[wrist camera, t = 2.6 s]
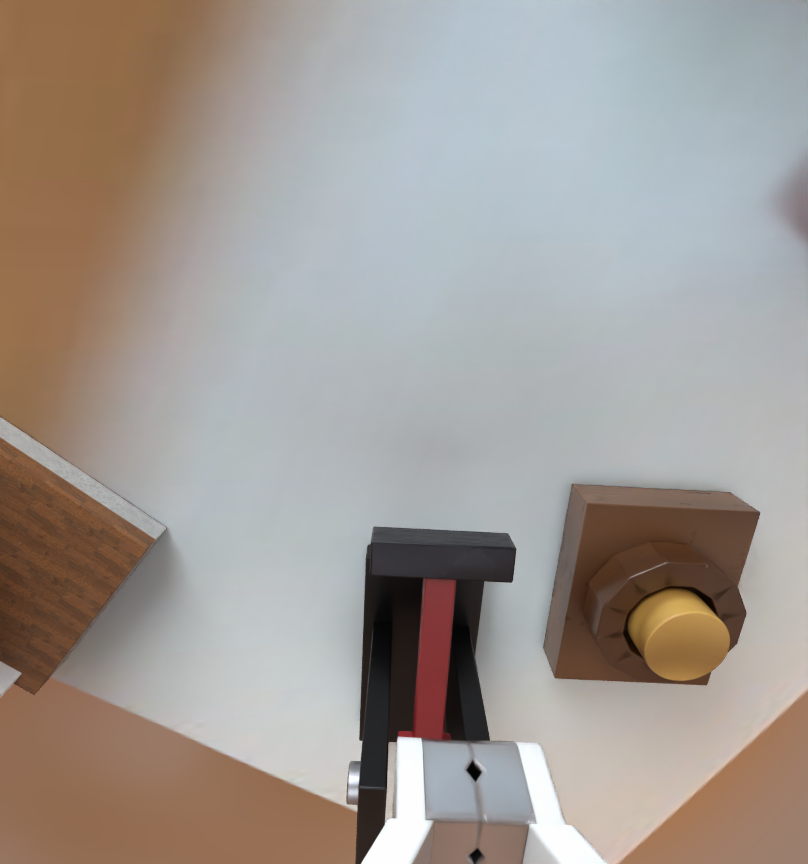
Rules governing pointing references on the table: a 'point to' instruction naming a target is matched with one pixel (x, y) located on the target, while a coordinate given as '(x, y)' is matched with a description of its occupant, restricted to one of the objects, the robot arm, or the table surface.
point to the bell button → (678, 634)
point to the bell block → (641, 572)
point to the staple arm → (438, 599)
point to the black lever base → (407, 686)
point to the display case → (57, 556)
